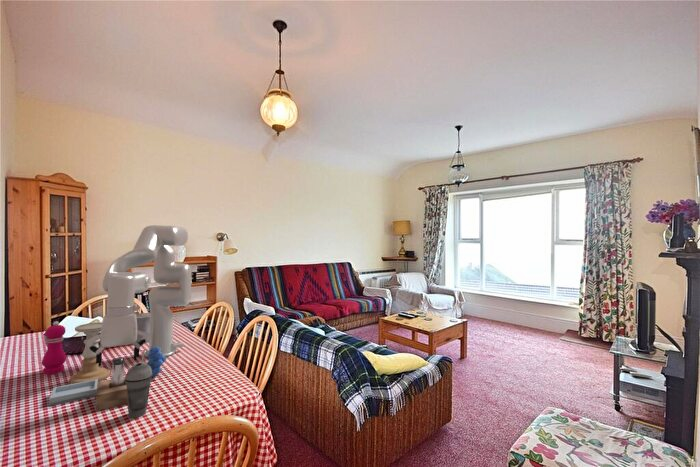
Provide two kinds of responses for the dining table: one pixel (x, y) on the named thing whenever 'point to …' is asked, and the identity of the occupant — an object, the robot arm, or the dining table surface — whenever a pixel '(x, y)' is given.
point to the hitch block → (110, 395)
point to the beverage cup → (138, 388)
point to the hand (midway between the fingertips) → (117, 362)
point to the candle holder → (89, 357)
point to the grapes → (156, 360)
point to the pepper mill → (54, 350)
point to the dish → (73, 392)
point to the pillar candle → (143, 325)
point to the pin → (118, 372)
